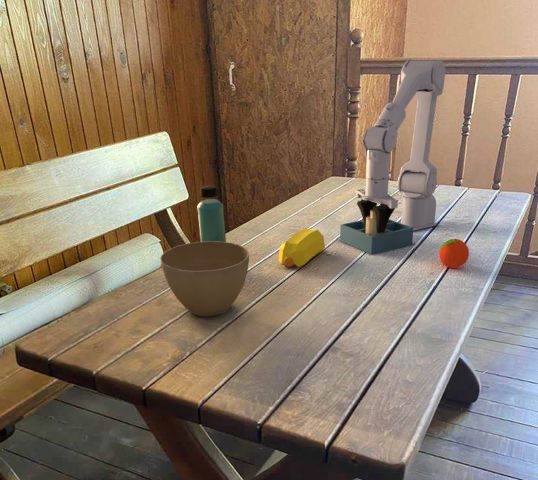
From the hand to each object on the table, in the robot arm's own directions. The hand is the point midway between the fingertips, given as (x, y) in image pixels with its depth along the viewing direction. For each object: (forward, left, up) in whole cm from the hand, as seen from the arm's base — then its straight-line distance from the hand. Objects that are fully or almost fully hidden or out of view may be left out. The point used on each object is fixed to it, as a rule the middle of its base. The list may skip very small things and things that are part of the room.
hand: (374, 229), depth 153 cm
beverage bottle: (+41, -12, -5) cm, 43 cm away
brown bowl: (+53, +11, -5) cm, 55 cm away
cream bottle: (0, 0, -3) cm, 3 cm away
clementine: (-6, +22, -5) cm, 24 cm away
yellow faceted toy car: (+20, -4, -5) cm, 21 cm away
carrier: (-3, -3, -5) cm, 7 cm away
